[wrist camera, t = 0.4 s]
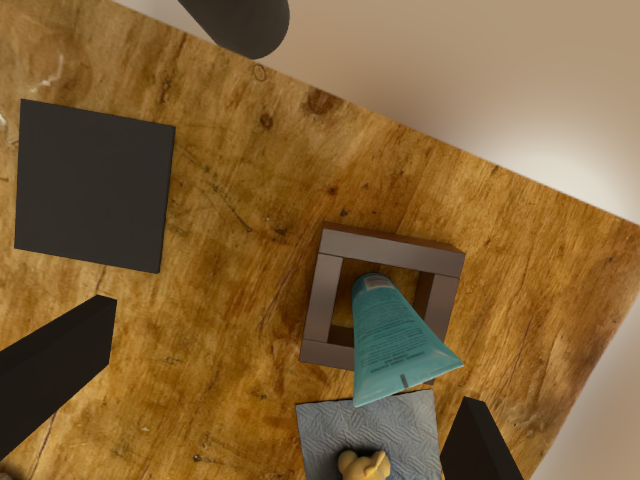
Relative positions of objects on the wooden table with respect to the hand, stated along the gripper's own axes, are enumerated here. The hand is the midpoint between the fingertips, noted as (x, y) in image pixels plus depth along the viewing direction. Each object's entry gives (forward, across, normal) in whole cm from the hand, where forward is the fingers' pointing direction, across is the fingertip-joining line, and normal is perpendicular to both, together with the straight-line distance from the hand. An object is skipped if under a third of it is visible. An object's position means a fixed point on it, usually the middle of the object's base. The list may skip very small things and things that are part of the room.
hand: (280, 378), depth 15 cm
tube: (+29, +7, -6) cm, 31 cm away
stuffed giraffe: (+28, +12, -27) cm, 41 cm away
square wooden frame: (+29, +7, -6) cm, 30 cm away
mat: (+28, -26, -3) cm, 38 cm away
